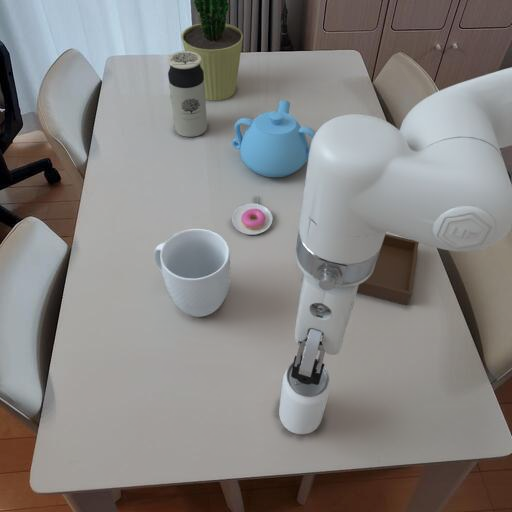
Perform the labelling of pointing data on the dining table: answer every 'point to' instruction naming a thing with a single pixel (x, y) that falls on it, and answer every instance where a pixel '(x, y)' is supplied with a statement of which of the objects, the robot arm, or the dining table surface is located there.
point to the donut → (252, 219)
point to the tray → (393, 271)
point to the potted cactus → (215, 48)
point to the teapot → (273, 142)
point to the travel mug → (187, 93)
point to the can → (303, 402)
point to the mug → (195, 270)
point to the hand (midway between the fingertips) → (315, 343)
